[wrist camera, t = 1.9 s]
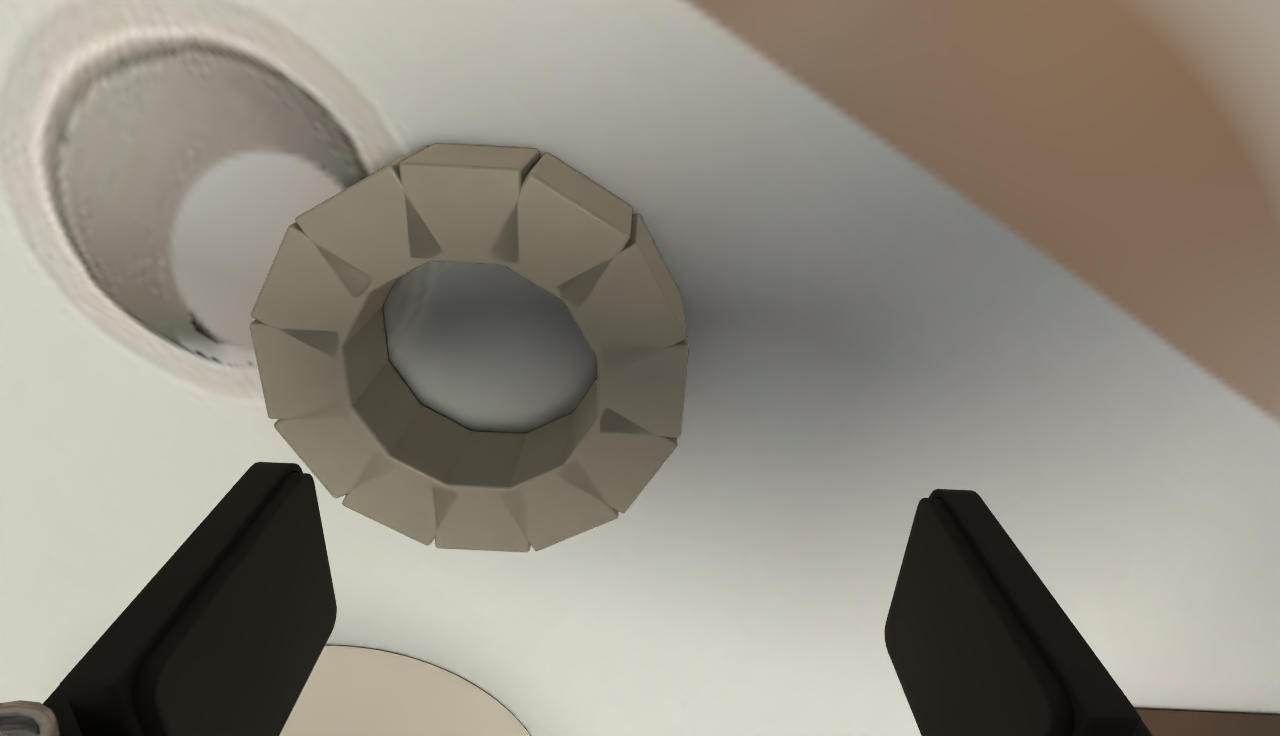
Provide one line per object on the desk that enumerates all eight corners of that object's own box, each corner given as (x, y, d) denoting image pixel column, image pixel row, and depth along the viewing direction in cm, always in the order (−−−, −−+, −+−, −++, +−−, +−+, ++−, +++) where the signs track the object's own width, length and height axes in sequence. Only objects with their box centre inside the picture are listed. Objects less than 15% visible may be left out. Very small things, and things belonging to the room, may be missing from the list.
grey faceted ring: (695, 156, 16) (703, 178, 14) (668, 499, 20) (670, 560, 18) (275, 134, 16) (212, 152, 14) (334, 483, 20) (292, 542, 18)
